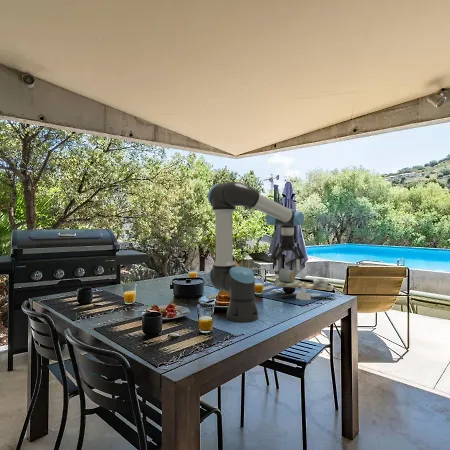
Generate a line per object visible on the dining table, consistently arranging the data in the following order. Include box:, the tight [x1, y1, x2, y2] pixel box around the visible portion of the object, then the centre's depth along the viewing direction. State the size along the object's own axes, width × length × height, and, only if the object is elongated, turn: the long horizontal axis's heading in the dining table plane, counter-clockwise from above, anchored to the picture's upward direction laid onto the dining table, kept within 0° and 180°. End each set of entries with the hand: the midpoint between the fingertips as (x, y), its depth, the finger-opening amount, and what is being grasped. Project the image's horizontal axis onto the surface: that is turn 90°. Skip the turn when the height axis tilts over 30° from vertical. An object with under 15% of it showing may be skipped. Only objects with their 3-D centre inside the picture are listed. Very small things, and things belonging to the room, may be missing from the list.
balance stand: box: [295, 286, 312, 301], centre depth 194 cm, size 8×12×7 cm, turn 164°
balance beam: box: [273, 277, 334, 291], centre depth 194 cm, size 33×15×5 cm, turn 74°
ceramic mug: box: [277, 268, 296, 283], centre depth 198 cm, size 11×8×8 cm
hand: (287, 270), depth 196 cm, fingers open, 13 cm apart
